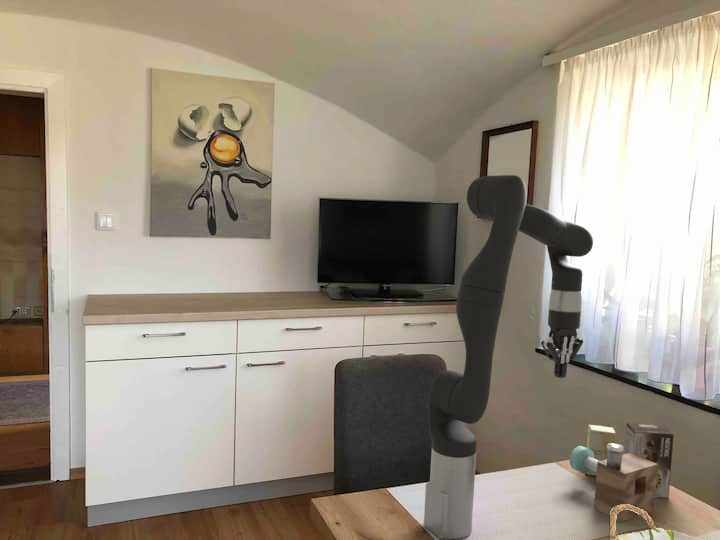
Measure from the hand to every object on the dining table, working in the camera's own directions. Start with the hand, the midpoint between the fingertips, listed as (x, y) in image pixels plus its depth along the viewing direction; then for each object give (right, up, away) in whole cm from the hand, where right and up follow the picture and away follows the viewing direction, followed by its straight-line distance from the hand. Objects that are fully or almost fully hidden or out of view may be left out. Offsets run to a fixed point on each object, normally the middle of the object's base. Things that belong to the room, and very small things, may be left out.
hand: (560, 377), depth 145 cm
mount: (+11, -29, -11) cm, 32 cm away
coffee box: (+21, -28, -1) cm, 35 cm away
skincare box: (+13, -27, +8) cm, 31 cm away
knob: (+8, -24, -5) cm, 26 cm away
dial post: (+7, -18, -14) cm, 24 cm away
